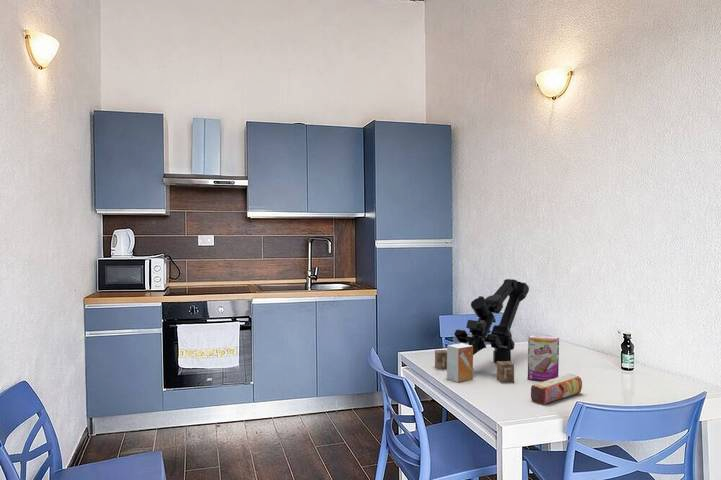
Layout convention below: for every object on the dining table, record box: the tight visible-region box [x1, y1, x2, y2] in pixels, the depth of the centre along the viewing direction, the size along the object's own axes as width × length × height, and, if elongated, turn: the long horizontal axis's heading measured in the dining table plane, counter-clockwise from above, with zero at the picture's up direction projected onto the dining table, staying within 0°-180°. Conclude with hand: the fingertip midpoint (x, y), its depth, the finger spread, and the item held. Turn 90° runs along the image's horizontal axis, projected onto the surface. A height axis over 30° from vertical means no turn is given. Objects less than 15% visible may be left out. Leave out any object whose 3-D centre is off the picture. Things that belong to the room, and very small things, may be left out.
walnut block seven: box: [496, 361, 515, 384], centre depth 201 cm, size 5×5×7 cm
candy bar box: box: [527, 334, 560, 382], centre depth 203 cm, size 11×5×16 cm, turn 71°
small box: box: [446, 342, 474, 383], centre depth 203 cm, size 8×6×13 cm
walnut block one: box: [434, 349, 447, 371], centre depth 220 cm, size 5×5×7 cm
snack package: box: [530, 373, 583, 405], centre depth 181 cm, size 21×7×7 cm, turn 125°
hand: (469, 356), depth 209 cm, fingers closed
